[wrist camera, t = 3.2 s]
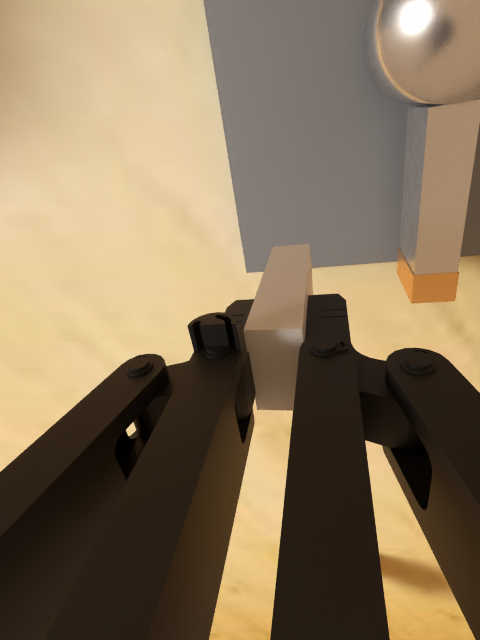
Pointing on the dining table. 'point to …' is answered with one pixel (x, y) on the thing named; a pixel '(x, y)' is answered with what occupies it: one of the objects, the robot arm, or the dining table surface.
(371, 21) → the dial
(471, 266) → the dining table surface
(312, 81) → the grey base plate
